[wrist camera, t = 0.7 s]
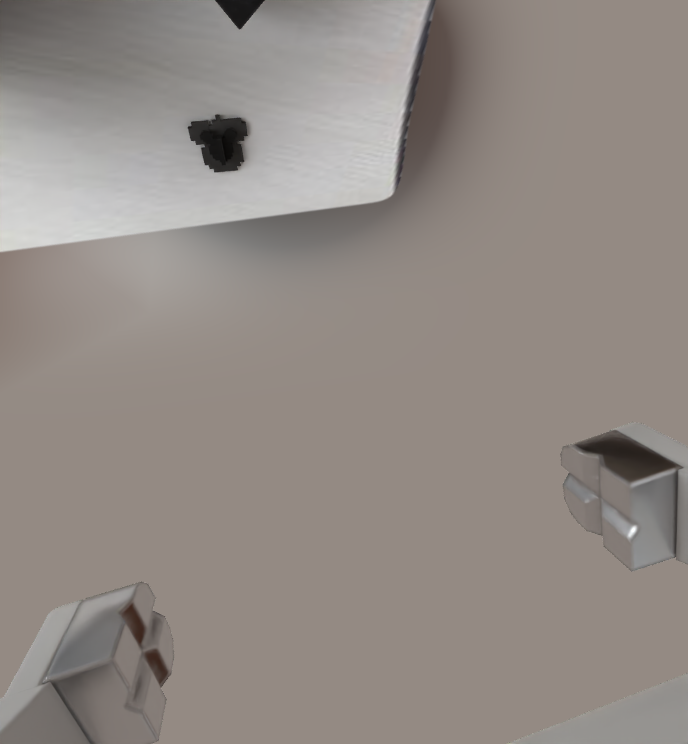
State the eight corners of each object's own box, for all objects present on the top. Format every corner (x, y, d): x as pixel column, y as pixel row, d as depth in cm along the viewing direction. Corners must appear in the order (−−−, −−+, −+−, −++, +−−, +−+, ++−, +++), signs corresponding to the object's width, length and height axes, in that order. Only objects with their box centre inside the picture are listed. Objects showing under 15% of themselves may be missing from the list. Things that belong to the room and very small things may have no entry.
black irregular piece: (198, 180, 49) (184, 123, 46) (199, 172, 51) (185, 117, 47) (253, 174, 50) (244, 118, 46) (252, 167, 52) (243, 112, 48)
